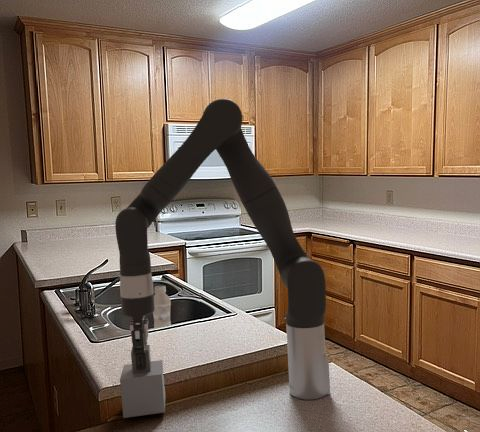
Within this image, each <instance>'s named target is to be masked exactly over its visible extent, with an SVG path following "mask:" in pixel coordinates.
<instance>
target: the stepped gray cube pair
mask: <svg viewBox="0 0 480 432" xmlns="http://www.w3.org/2000/svg"><path fill="white" fill-rule="evenodd" d="M137 348H142V346H137ZM145 349H146V353H145V357H146V369H144V370H137V369H136V358H135V354H134V353H133V346H132V347H131V350H130V358H131V363H129V364H128V363H127V364H124V365H123V368H122V371H121V374H120V378H119V383H120V387H119V388H120V397H121V406H122V417H123V419H125V418H126V419H127V418H134V417H140V416H142V417H143V416H147V415H155V414H162V413H165V412H166V388H165V387H166V385H165V386H164V384H165V374H164V375H163V373H164V362H163V360H162V359H159V360H152V358H151V357H152V356H151V348H150V344H147V345H145Z"/></svg>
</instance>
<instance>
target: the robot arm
mask: <svg viewBox="0 0 480 432" xmlns="http://www.w3.org/2000/svg"><path fill="white" fill-rule="evenodd" d="M242 125H243V113H242V110H241V108H240V106H239V105H238V104H237V103H236V102H235V101H233V100H232V99H229V98H218V99H214V100H213V101H211V102H210V103H209V104H207V106H206V107H205V109H204V111H203V112H202V116H201V117H200V119H199V121H198V122H197V124H196V125H195V126H194V128H193V130H192V131H191V133H190V134H189V135H188V137H187V138H186V139H185V140H184V141H183V143H182V144H181V145H180V146H179V147H178V149H177V150H176V151H175V152H174V153H173V154H172V155H171V156H170V157H169V158H168V159H167V160H166V161H165V162H164V163H163V164H162V165H161V166H160V167H159V169H158V170H157V171H156V172H155V173H154V174H153V175H152V176H151V177H150V179H149V180H148V181H147V182H146V183H145V184H144V186H143V187H142V188H141V191H140V193H139V194H138V195H137V196H136V197H135V198H134V200H133V201H131V203H130V204H129V205H128V206H127V207H126V208H123V209H122V210H120V211H119V212H118V214H117V215H116V218H115V224H114V225H115V226H114V227H115V237H116V241H117V248H118V251H119V254H118V255H119V271H120V272H119V274H120V277H119V278H120V279H119V291H120V306H121V315H123V316H124V317H130V318H132V320H130V323H129V331H130V335H131V338H130V339H131V344H132V347H133V353H134V354H135V358H136V369H137V370H144V369H146V357H145V353H146V349H145V345H148V338H149V337H148V336H149V330H148V329H149V328H148V327H149V319H148V317H147V316H148V315H151V314H153V312H154V310H155V306H154V295H155V293H154V291H155V289H154V279H153V276H152V265H151V264H152V262H151V255H150V251H149V247H148V245H149V243H148V229H149V227H150V226H151V225H152V224H153V222H155V220H156V219H157V218H158V216H159V215H160V214H161V212H162V211H163V210H164V209H166V208H167V207H168V205H170V204H171V202H173V200H174V199H175V198H176V197H177V196H178V194H179V193H181V191H182V189H184V188H185V186H186V185H187V184H188V183H189V181H190V179H191V178H192V177H193V175H195V173H196V172H197V171H198V169H199V168H200V166H201V165H202V164H203V163H204V162H205V161H206V159H207V158H208V157H209V156H210V155H211V154H212V153H213V152H214V151H216V152H217V153H218V155H219V157H220V158H221V160H222V162H223V163H224V165H225V167H226V170H227V172H228V174H229V177H230V179H231V182H232V184H233V187H234V189H235V191H236V193H237V195H238V198H239V199H240V202H241V204H242V205H243V207H244V209H245V212H246V213H247V215H248V217H249V219H250V220H251V222H252V223H253V226H254V227H255V229H256V231H257V232H258V234H259V236H260V237H261V238H262V240H263V241H264V242H265V244H266V246H267V248H268V250H269V251H270V254H271V256H272V258H273V260H274V263H275V265H276V268H277V270H278V273H279V276H280V279H281V282H282V283H283V285H284V286H285V288H286V289H287V311H286V312H285V326H286V329H285V330H286V345H287V346H286V347H287V348H286V349H287V362H288V364H287V365H288V367H287V368H288V386H289V393H290V395H291V396H293V398H294V397H295V398H297V399H301V400H307V401H308V400H317V399H321V398H323V397H326V396H327V395H331V383H330V382H331V381H330V379H331V378H330V363H329V361H330V360H329V359H330V358H329V355H328V353H326V336H325V335H326V334H325V315H326V311H327V295H326V293H327V290H326V287H327V286H326V284H327V283H326V276H325V271H324V269H323V268H322V266H321V265H320V264H319V263H318V262H316V261H315V260H313V259H311V258H309V257H308V255H307V253H306V252H305V249H303V247H302V245H301V244H300V242H299V241H298V239H297V237H296V235H295V233H294V229H293V228H292V223H291V219H290V215H289V211H288V207H287V205H286V203H285V201H284V198H283V196H282V194H281V192H280V190H279V188H278V187H277V184H276V183H275V181H274V179H273V177H272V176H271V175H270V173H269V172H268V170H267V169H266V168H265V167H264V166H263V165H262V163H261V162H260V161H259V160H258V158H257V157H256V156H255V154H254V153H253V152H252V150H251V148H250V145H249V144H248V142H247V139H246V137H245V134H244V132H243V130H242ZM137 346H142V348H137Z"/></svg>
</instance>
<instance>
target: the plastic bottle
mask: <svg viewBox="0 0 480 432" xmlns="http://www.w3.org/2000/svg"><path fill="white" fill-rule="evenodd" d="M166 288H167V287H166V285H156V286H154V306H155V310H154V312H153V313H152V315H153V323H154V325H153V326H154V327H153V329H154V328H158V327H163V326H167V325H171V326H172V322H171V305H172V303H171V302H172V301H171V299H170V297H169V295H168V294H166V292H167V289H166Z"/></svg>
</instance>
